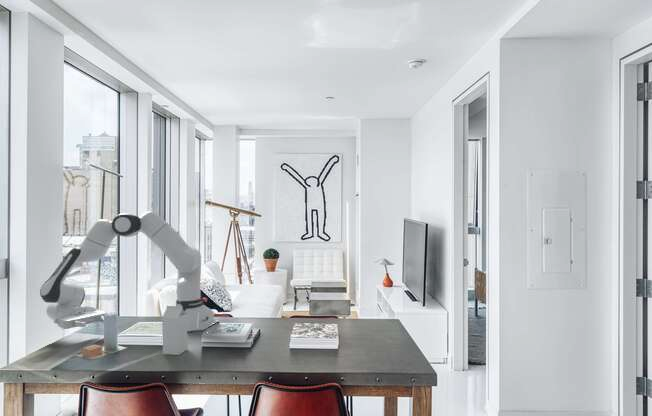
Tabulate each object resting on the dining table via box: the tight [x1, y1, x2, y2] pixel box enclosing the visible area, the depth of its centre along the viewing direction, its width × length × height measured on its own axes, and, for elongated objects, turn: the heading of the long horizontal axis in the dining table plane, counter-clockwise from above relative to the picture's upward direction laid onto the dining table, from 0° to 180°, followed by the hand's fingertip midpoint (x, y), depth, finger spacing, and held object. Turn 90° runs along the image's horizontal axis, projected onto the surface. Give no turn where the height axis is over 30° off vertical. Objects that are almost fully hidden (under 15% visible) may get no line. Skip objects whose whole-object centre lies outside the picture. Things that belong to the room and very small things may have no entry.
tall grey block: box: [103, 312, 118, 350], centre depth 187 cm, size 5×5×14 cm
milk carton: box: [161, 305, 188, 356], centre depth 185 cm, size 7×7×19 cm
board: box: [74, 344, 127, 361], centre depth 184 cm, size 16×11×1 cm
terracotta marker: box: [82, 343, 103, 357], centre depth 180 cm, size 5×5×3 cm
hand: (94, 322), depth 194 cm, fingers open, 8 cm apart
